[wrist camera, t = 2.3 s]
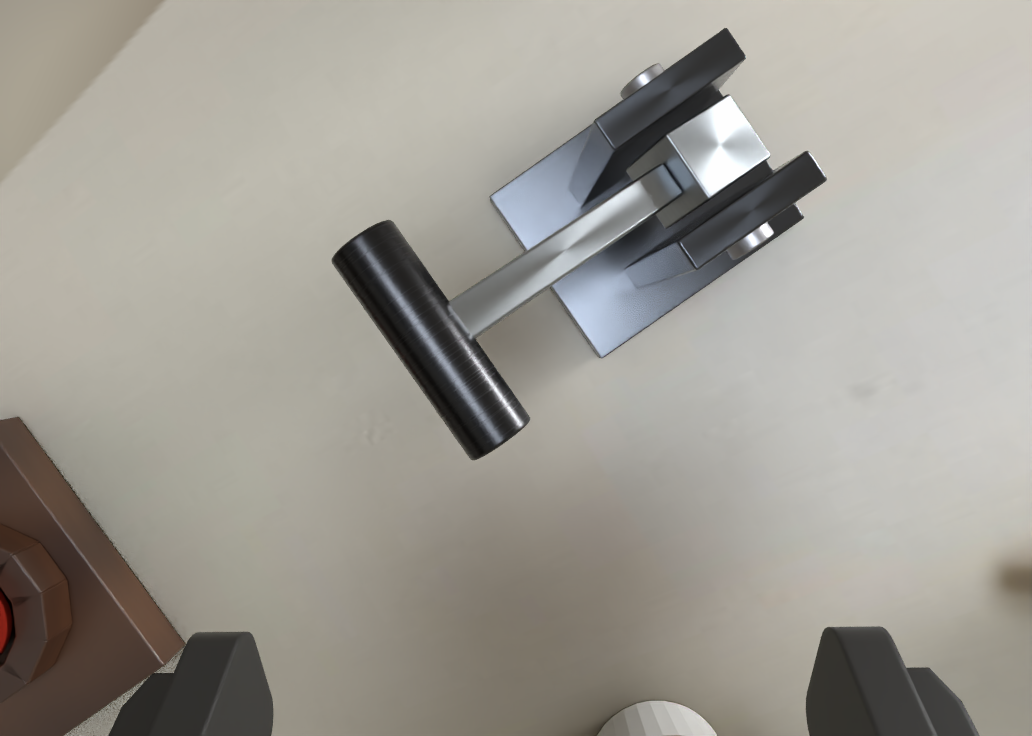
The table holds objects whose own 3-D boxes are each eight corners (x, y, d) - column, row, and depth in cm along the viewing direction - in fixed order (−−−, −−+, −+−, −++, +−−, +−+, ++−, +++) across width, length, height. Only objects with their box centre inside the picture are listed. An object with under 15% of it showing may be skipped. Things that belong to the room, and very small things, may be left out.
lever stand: (598, 357, 34) (643, 373, 22) (489, 201, 34) (477, 133, 22) (794, 221, 34) (944, 165, 22) (687, 61, 34) (781, -81, 22)
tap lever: (460, 465, 21) (489, 456, 19) (323, 273, 21) (338, 241, 18) (757, 238, 26) (809, 209, 24) (650, 80, 26) (693, 37, 23)
